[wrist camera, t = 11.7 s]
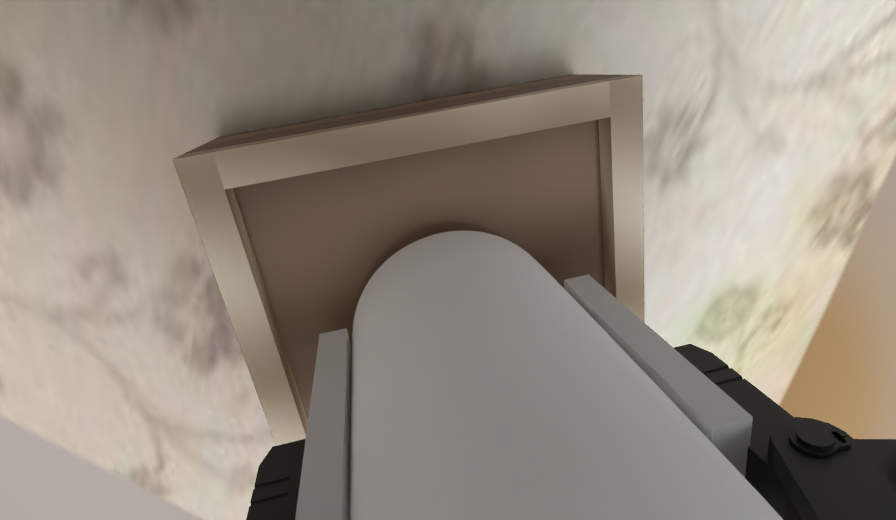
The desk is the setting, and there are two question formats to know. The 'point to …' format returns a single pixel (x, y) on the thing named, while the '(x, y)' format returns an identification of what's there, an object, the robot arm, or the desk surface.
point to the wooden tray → (412, 208)
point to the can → (513, 403)
